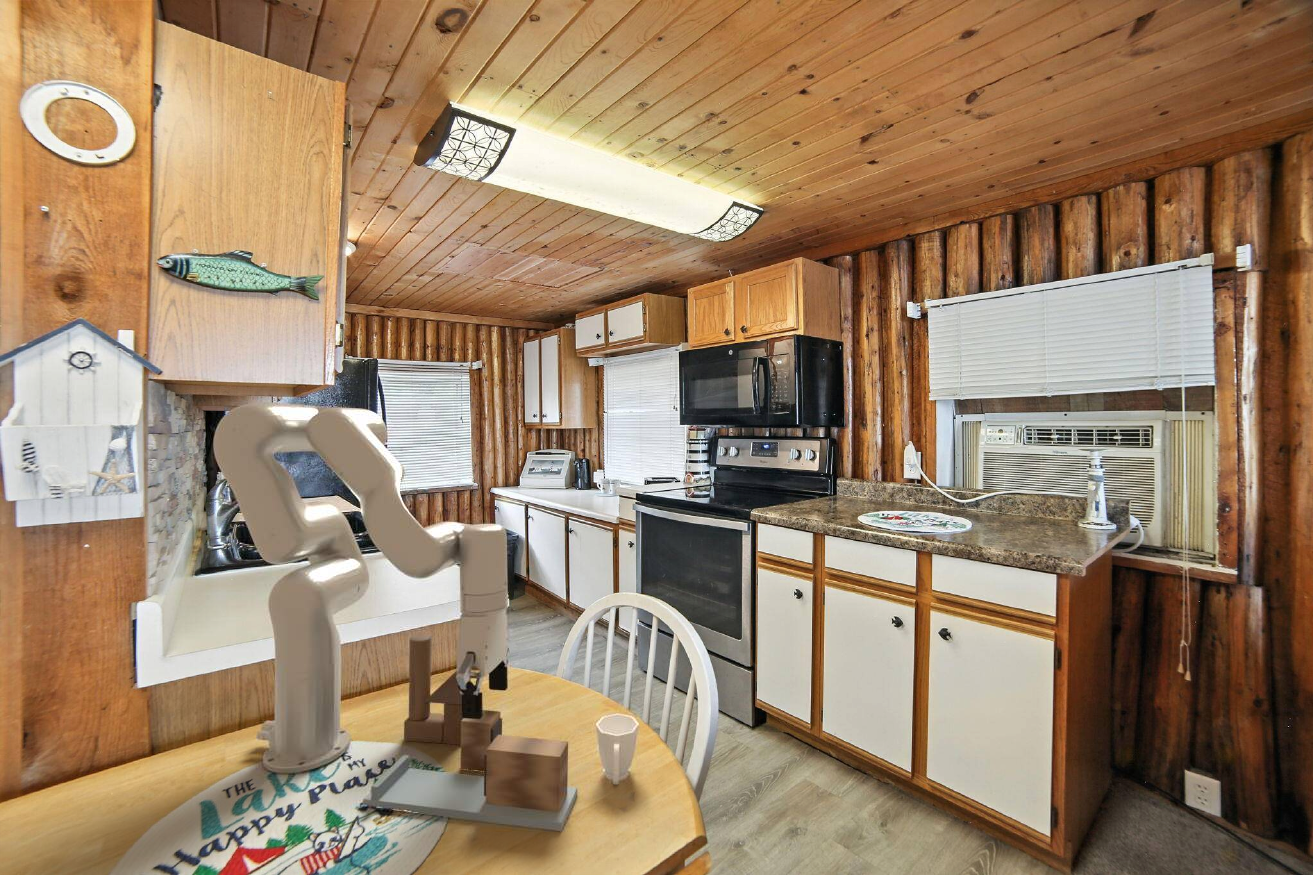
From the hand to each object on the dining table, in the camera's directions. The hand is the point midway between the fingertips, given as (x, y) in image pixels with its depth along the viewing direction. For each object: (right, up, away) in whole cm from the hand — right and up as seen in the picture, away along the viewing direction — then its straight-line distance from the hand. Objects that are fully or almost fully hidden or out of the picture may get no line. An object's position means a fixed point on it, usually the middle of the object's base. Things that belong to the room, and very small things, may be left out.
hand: (486, 702), depth 94 cm
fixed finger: (+9, -9, -10) cm, 17 cm away
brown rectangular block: (-1, -10, 0) cm, 10 cm away
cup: (+22, -11, -3) cm, 25 cm away
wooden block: (-11, -10, +8) cm, 17 cm away
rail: (+1, -10, -9) cm, 14 cm away
